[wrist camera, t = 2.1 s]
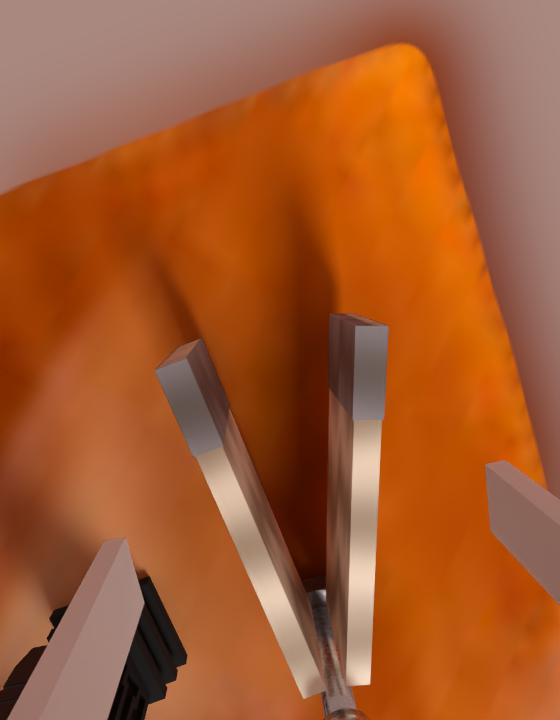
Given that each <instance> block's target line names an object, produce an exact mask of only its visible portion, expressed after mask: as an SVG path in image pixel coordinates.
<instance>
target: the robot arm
mask: <svg viewBox="0 0 560 720" xmlns="http://www.w3.org/2000/svg"><path fill="white" fill-rule="evenodd" d="M485 470H486V482H487V494H488V506H489V519H490V531H491V532H492V533H493V534H494V535H495V536H496V537H497V539H498V540H499V541H500V542H501V543H502V544H503V545H504V546H505V547H506V548H507V549H508V550H509V551H510V552H511V554H512V555H513V556H514V557H515V558H516V559H517V560H518V561H519V562H520V563H521V564H522V565H523V566H524V567H525V569H526V570H527V571H528V572H529V573H530V574H531V575H532V576H533V577H534V578H535V579H536V580H537V581H538V583H539V584H540V585H541V586H542V587H543V588H544V589H545V590H546V591H547V592H548V593H549V594H550V595H551V596H552V598H553V599H554V600H555V601H556V602H557V603H558V604H559V605H560V500H559V499H558V498H556V497H555V496H553V495H552V494H551V493H549V492H548V491H547V490H545V489H544V488H543V487H541V486H540V485H538V484H537V483H536V482H534V481H533V480H532V479H530V478H529V477H528V476H526V475H525V474H523V473H522V472H521V471H519V470H518V469H517V468H515V467H514V466H513V465H511V464H510V463H508V462H507V461H506V460H504V461H499V462H495V463H490V464H485ZM144 603H145V602H144V599H143V596H142V592H141V589H140V585H139V582H138V578H137V575H136V572H135V568H134V565H133V561H132V558H131V554H130V551H129V548H128V544H127V541H126V537H124V538H119V539H114V540H109V541H104V542H103V544H102V546H101V548H100V549H99V551H98V553H97V555H96V557H95V559H94V561H93V562H92V564H91V566H90V568H89V570H88V572H87V573H86V575H85V577H84V579H83V581H82V583H81V584H80V586H79V588H78V590H77V592H76V594H75V595H74V597H73V599H72V601H71V603H70V605H69V607H68V608H67V610H66V612H65V614H64V616H63V618H62V619H61V621H60V623H59V625H58V627H57V629H56V630H55V632H54V634H53V636H52V638H51V640H50V642H49V643H48V645H46V646H41V647H36V648H32V650H31V651H30V652H29V653H28V654H27V655H26V656H25V657H24V658H23V659H22V660H21V661H20V662H19V663H18V664H17V665H16V666H15V668H14V670H13V671H12V673H11V675H10V676H9V678H8V680H7V681H6V683H5V685H4V686H3V687H4V689H3V690H1V691H0V720H107V719H108V716H109V713H110V710H111V706H112V703H113V700H114V697H115V694H116V691H117V688H118V684H119V681H120V678H121V675H122V672H123V669H124V666H125V663H126V659H127V656H128V653H129V650H130V647H131V644H132V641H133V637H134V634H135V631H136V628H137V625H138V622H139V619H140V616H141V612H142V609H143V606H144Z"/></svg>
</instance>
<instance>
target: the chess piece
mask: <svg viewBox="0 0 560 720" xmlns="http://www.w3.org/2000/svg"><path fill="white" fill-rule="evenodd" d="M138 582H139V585H140V589H141V592H142V596H143V599H144V602H145V603H144V606H143V609H142V612H141V616H140V619H139V622H138V625H137V628H136V631H135V634H134V637H133V641H132V644H131V647H130V650H129V653H128V656H127V659H126V663H125V666H124V669H123V672H122V675H121V678H120V681H119V684H118V688H117V691H116V694H115V697H114V700H113V703H112V706H111V710H110V713H109V716H108V719H107V720H144V719H145V715H146V711H147V707H148V704H151V703H154V702H157V701H159V700H162V699H165V696H166V691H167V687H166V685H165V684H167V683H170V682H173V681H175V680H176V678H177V672H178V670H177V668H176V667H179V666H182V665H184V664H186V660H187V654H186V651H185V649H184V647H183V645H182V643H181V641H180V639H179V637H178V635H177V633H176V631H175V629H174V626H173V624H172V622H171V620H170V618H169V616H168V614H167V612H166V610H165V608H164V606H163V604H162V601H161V599H160V597H159V595H158V593H157V591H156V589H155V587H154V585H153V583H152V581H151V579H150V576H149V577H147V578H144V579H141V580H138ZM68 607H69V605H68V606H65V607H63V608H60V609H57V610H54V611H53V613H52V615H51V617H50V618H49V619H50V621H51V623H52V625H53V626H54V629H52V630H51V632H50V633H49V635H48V637H47V640H48V642H50V640H51V638H52V636H53V634H54V632H55V630H56V629H57V627H58V625H59V623H60V621H61V619H62V618H63V616H64V614H65V612H66V610H67V608H68Z"/></svg>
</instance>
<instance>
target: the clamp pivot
mask: <svg viewBox="0 0 560 720" xmlns="http://www.w3.org/2000/svg"><path fill="white" fill-rule="evenodd" d="M301 582H302V584H303V587H304V589H305V591H306V594H307V596H308V599H309V601H310V604H311V609H312V614H313V620H314V625H315V630H316V636H317V641H318V646H319V652H320V657H321V663H322V668H323V673H324V679H325V684H326V689H327V691H324V692H321V696H322V702H323V708H324V713H325V718H324V719H323V720H369V719H368V717H367V716H366V715H365V714H364V713H362V712H361V711H359V710H357V709H356V705H355V701H354V697H353V693H352V689H351V686H346V685H345V681H344V677H343V672H342V668H341V664H340V660H339V655H338V651H337V647H336V643H335V638H334V634H333V630H332V625H331V621H330V617H329V613H328V608H327V604H326V574H325V575H321V576H316V577H311V578H306V579H302V580H301Z"/></svg>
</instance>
